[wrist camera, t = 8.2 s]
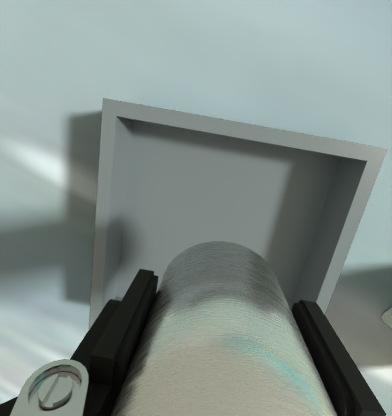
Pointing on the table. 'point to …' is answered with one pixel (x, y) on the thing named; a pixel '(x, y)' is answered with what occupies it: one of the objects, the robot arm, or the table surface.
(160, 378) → the tin can
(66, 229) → the table surface
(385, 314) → the supplement box
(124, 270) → the tray
